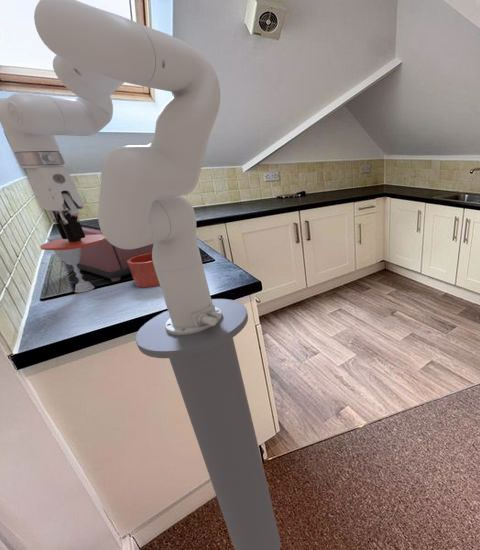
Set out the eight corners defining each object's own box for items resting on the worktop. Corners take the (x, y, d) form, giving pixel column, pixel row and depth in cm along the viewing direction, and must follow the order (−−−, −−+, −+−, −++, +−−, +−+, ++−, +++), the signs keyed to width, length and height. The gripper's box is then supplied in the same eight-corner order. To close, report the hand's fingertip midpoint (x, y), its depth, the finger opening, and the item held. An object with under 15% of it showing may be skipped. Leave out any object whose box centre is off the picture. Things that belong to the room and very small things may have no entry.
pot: (182, 276, 106) (175, 254, 103) (148, 289, 97) (140, 265, 93) (162, 272, 111) (155, 250, 108) (128, 284, 101) (119, 260, 98)
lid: (118, 240, 79) (109, 215, 76) (57, 255, 68) (44, 226, 66) (92, 236, 84) (83, 213, 81) (32, 249, 73) (19, 223, 71)
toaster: (206, 252, 132) (196, 212, 125) (112, 283, 102) (93, 232, 95) (165, 245, 145) (154, 208, 138) (71, 270, 115) (51, 224, 109)
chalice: (103, 286, 100) (82, 234, 93) (81, 294, 94) (57, 239, 87) (88, 284, 102) (66, 232, 95) (65, 292, 96) (40, 238, 89)
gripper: (79, 159, 68) (108, 237, 75) (46, 160, 75) (75, 232, 82) (36, 160, 62) (72, 245, 69) (3, 162, 69) (39, 239, 76)
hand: (73, 237), depth 75 cm, fingers closed on lid, 2 cm apart
